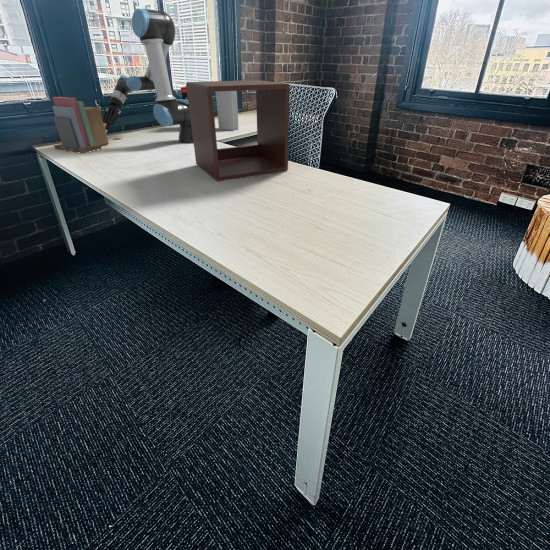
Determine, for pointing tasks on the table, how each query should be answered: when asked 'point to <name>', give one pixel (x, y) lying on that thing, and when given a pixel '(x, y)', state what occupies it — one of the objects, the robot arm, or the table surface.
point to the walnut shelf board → (81, 150)
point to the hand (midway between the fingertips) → (102, 134)
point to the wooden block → (96, 125)
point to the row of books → (72, 122)
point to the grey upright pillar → (227, 110)
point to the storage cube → (270, 130)
